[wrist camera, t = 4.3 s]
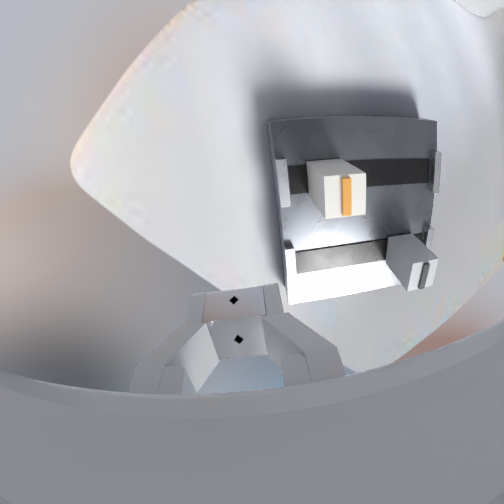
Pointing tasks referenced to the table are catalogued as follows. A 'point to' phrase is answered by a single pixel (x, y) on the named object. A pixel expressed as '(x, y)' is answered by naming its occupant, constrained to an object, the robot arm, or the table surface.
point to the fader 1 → (337, 188)
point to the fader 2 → (411, 261)
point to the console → (377, 199)
